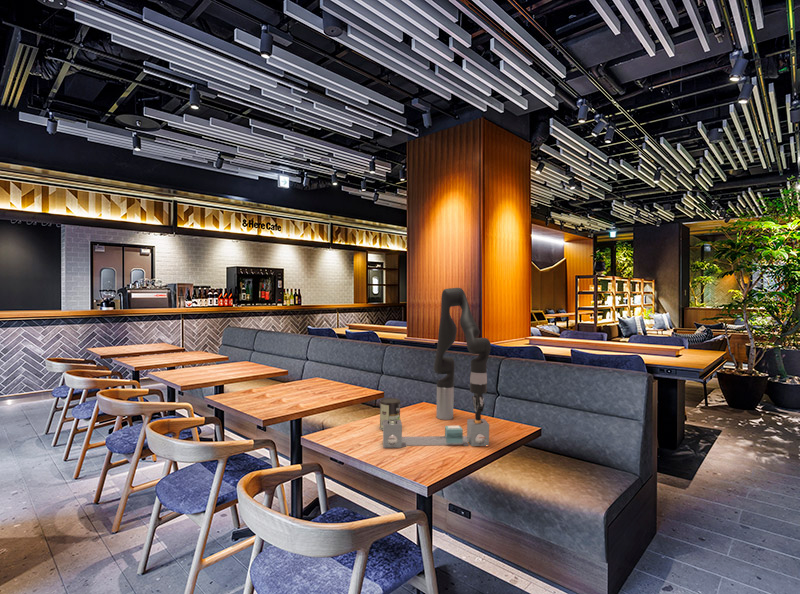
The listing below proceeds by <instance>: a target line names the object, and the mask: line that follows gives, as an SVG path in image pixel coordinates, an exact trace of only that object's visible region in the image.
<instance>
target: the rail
mask: <svg viewBox="0 0 800 594" xmlns="http://www.w3.org/2000/svg"><path fill="white" fill-rule="evenodd" d="M407 446H409V447H412V446H415V447H417V446H419V447H420V446H463V447H469V443H468V438H467V435H463V443H447V438H446V436H445V435H441V436H440V435H438V436H436V435H435V436H426V435H424V436H402V448H406V447H407Z"/></svg>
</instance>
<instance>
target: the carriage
mask: <svg viewBox="0 0 800 594" xmlns="http://www.w3.org/2000/svg"><path fill="white" fill-rule="evenodd" d="M463 430H464V429H463V428H462V426H461V425H444V436H446V438H447V443H463V436H464V433H463Z"/></svg>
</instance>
